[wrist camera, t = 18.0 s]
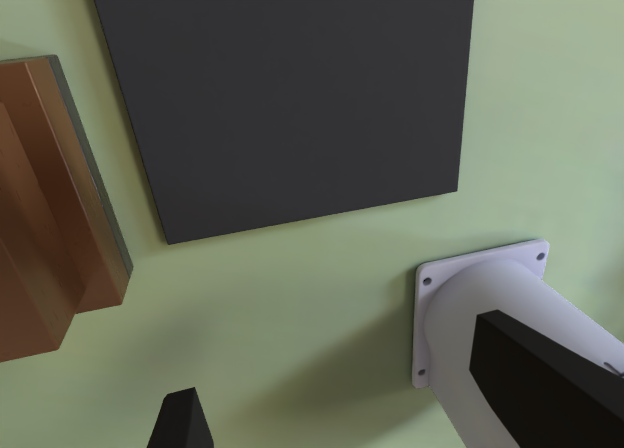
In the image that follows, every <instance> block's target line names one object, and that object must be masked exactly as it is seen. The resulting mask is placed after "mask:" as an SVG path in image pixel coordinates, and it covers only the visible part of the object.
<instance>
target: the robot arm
mask: <svg viewBox="0 0 624 448" xmlns="http://www.w3.org/2000/svg"><path fill="white" fill-rule="evenodd" d="M548 251H549V243H548V242H547V241H545V240H544V239H536V240H531V241H526V242H522V243H517V244H512V245H508V246H503V247H498V248H493V249H489V250H484V251H479V252H475V253H470V254H465V255H461V256H456V257H451V258H446V259H442V260H437V261H432V262H428V263H424V264H421V265H420V266H419V267H418V268H417V270H416V283H415V310H414V336H413V362H412V384H413V385H414V387H415V388H418V389H420V388H425V387H428V386H430V388H431V389H432V391H433V393H434V394H435V396H436V398H437V399H438V401H439V403H440V404H441V406H442V408H443V409H444V411H445V413H446V414H447V416H448V418H449V419H450V421H451V423H452V424H453V426H454V428H455V429H456V431H457V433H458V434H459V436H460V438H461V439H462V441H463V443H464V444H465V446H466V448H624V344H623V343H621V342H620V341H619V340H618V339H616V338H615V337H614V336H612V335H611V334H610V333H609V332H607V331H606V330H605V329H603V328H602V327H601V326H600V325H598V324H597V323H596V322H595V321H593V320H592V319H591V318H589V317H588V316H587V315H586V314H584V313H583V312H582V311H581V310H579V309H578V308H577V307H575V306H574V305H573V304H572V303H570V302H569V301H568V300H566V299H565V298H564V297H563V296H561V295H560V294H559V293H558V292H556V291H555V290H554V289H552V288H551V287H550V286H549V285H547V284H546V283H545V282H543V281H542V278H543V273H544V269H545V264H546V260H547V255H548ZM538 254H539V255H538ZM537 255H538V256H537ZM426 278H428V279H427V280H426V281H424V282H423V280H424V279H426ZM147 448H214V444H213V439H212V436H211V433H210V430H209V427H208V425H207V422H206V419H205V416H204V413H203V410H202V407H201V404H200V401H199V398H198V395H197V392H196V389H195V387H193V388H189V389H185V390H181V391H177V392H174V393H170V394H167V395H166V397H165V398H164V400H163V403H162V406H161V409H160V412H159V415H158V418H157V421H156V424H155V426H154V429H153V432H152V435H151V437H150V440H149V443H148V445H147Z"/></svg>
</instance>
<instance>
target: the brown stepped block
mask: <svg viewBox="0 0 624 448" xmlns="http://www.w3.org/2000/svg"><path fill="white" fill-rule="evenodd" d="M132 270H133V264H132V262H131V259H130V256H129V253H128V250H127V248H126V245H125V242H124V239H123V237H122V234H121V231H120V228H119V225H118V223H117V220H116V217H115V214H114V212H113V209H112V206H111V203H110V200H109V198H108V195H107V192H106V189H105V187H104V184H103V181H102V178H101V175H100V173H99V170H98V167H97V164H96V162H95V159H94V156H93V153H92V150H91V148H90V145H89V142H88V139H87V137H86V134H85V131H84V128H83V125H82V123H81V120H80V117H79V114H78V112H77V109H76V106H75V103H74V100H73V98H72V95H71V92H70V89H69V87H68V84H67V81H66V78H65V75H64V73H63V70H62V67H61V64H60V62H59V59H58V56H57V55H47V56H37V57H28V58H19V59H10V60H1V61H0V362H4V361H9V360H14V359H18V358H23V357H27V356H32V355H37V354H41V353H46V352H51V351H55V350H58V349H59V348H60V345H61V343H62V341H63V339H64V337H65V335H66V332H67V330H68V328H69V326H70V324H71V322H72V319H73V317H74V315H75V314H78V313H83V312H87V311H92V310H97V309H102V308H107V307H112V306H117V305H121V304H122V302H123V299H124V296H125V293H126V289H127V286H128V283H129V279H130V277H131V273H132Z"/></svg>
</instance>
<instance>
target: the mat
mask: <svg viewBox="0 0 624 448" xmlns="http://www.w3.org/2000/svg"><path fill="white" fill-rule="evenodd" d="M94 2H95V5H96V8H97V12H98V15H99V18H100V22H101V25H102V28H103V32H104V35H105V38H106V42H107V45H108V48H109V51H110V55H111V58H112V61H113V65H114V68H115V71H116V75H117V78H118V81H119V85H120V88H121V91H122V94H123V98H124V101H125V104H126V108H127V111H128V114H129V118H130V121H131V124H132V128H133V131H134V134H135V137H136V141H137V144H138V147H139V151H140V154H141V157H142V161H143V164H144V167H145V171H146V174H147V177H148V180H149V184H150V187H151V190H152V194H153V197H154V200H155V204H156V207H157V210H158V214H159V217H160V220H161V224H162V227H163V230H164V233H165V237H166V240H167V243H168V245H170V244H175V243H181V242H186V241H192V240H197V239H202V238H208V237H213V236H219V235H224V234H229V233H235V232H240V231H246V230H251V229H256V228H262V227H267V226H273V225H278V224H283V223H289V222H294V221H299V220H305V219H310V218H316V217H321V216H326V215H332V214H337V213H343V212H348V211H353V210H359V209H364V208H370V207H375V206H380V205H386V204H391V203H397V202H402V201H407V200H413V199H418V198H423V197H429V196H434V195H440V194H445V193H450V192H456V191H457V188H458V177H459V165H460V154H461V143H462V131H463V120H464V108H465V97H466V85H467V74H468V62H469V51H470V39H471V28H472V16H473V5H474V0H94Z"/></svg>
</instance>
